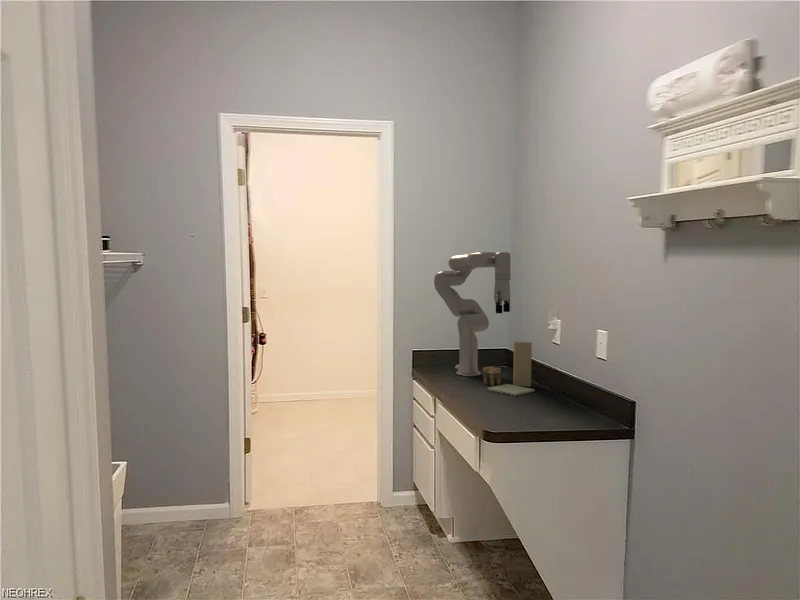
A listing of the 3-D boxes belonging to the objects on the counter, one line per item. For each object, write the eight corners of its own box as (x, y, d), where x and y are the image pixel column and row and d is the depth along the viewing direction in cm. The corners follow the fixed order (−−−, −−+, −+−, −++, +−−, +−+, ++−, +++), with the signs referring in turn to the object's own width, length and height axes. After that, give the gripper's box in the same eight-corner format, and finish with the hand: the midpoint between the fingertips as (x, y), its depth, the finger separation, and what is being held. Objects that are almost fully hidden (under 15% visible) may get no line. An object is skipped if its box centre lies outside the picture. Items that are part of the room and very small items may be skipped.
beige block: (529, 383, 283) (529, 340, 282) (531, 386, 276) (531, 342, 274) (512, 383, 284) (513, 340, 282) (514, 386, 277) (514, 342, 275)
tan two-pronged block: (482, 384, 282) (483, 367, 281) (491, 382, 286) (491, 366, 285) (492, 386, 277) (492, 369, 277) (500, 384, 281) (500, 368, 280)
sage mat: (487, 390, 269) (487, 388, 269) (507, 385, 278) (507, 383, 278) (514, 396, 257) (514, 393, 257) (534, 391, 266) (534, 389, 266)
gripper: (502, 277, 293) (502, 311, 294) (488, 277, 279) (488, 313, 279) (516, 277, 289) (516, 311, 290) (503, 277, 275) (503, 314, 275)
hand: (502, 312), depth 285 cm, fingers open, 9 cm apart
